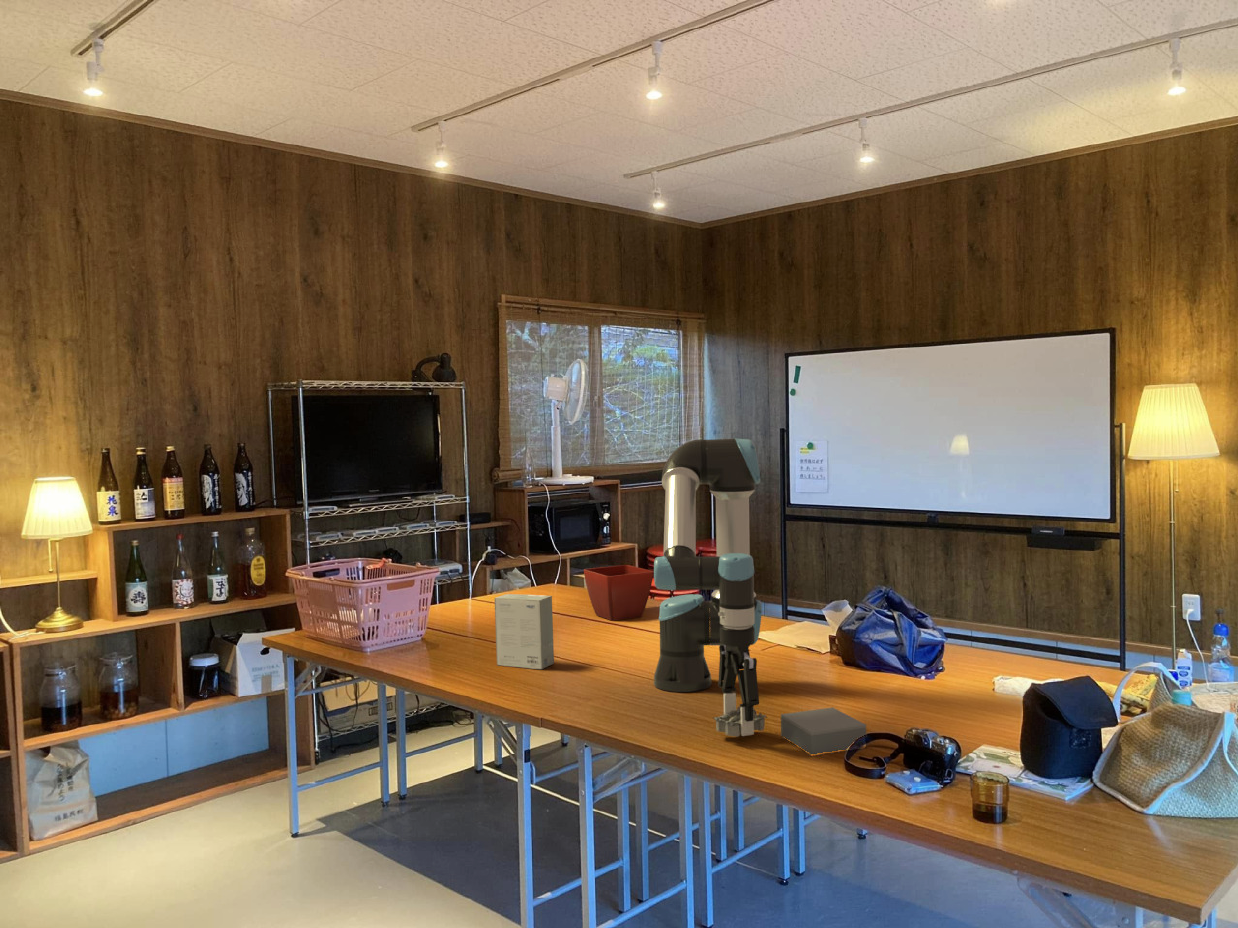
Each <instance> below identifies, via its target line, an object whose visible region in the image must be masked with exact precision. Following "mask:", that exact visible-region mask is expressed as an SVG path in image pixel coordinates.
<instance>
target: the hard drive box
mask: <svg viewBox="0 0 1238 928" xmlns="http://www.w3.org/2000/svg"><path fill="white" fill-rule="evenodd" d="M494 617H495V618H494V619H495V620H494V622H495V647H496V649H495V651H496V653H495V654H496V665H497V666H502V667H503V666H504V667H513V668H524V669H533V670H534V669H535V670H544V669H545V668H547V667H550V666H551V665H554V664H555V651H554V647H555V646H554V627H553V626H554V623H553V619H554V618H553V595H541V594H539V595H538V594H519V593H518V594H517V593H506V594H503V595H500V596H497V597H494Z"/></svg>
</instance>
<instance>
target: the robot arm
mask: <svg viewBox="0 0 1238 928" xmlns="http://www.w3.org/2000/svg"><path fill="white" fill-rule="evenodd" d="M758 460H759V459H758V454H757V447H756V445H755V442H754V441H753V440H752V439H747V438H736V437H735V438H721V439H720V438H717V439H711V438H710V439H692V440H689V441H687V442H685V443H683V444H681V445H680V446H679V447H677V448H676V449H675V450H674V451H673V452H672V453H671V454H670V455H669V457H668V459H666V462H665V463H664V466H663V469H662V474H661V485H662V488H663V490H664V491H665V497H664V501H665V502H664V522H663V523H664V526H663V527H664V529H663V530H664V532H663V554H662V556H657V557H655V559H654V562H653V580H654V581H653V582H654V586H655V588H656V589H658V590H664V591H687V590H690V591H691V590H693V591H694V590H699V591H701V590H702V591H704V590H705V591H706V590H707V591H709V590H710V591H712V593H711V595H710V596H711V600H704V599H705V598H704V597H703V595H702V594H699V593H698V594H696V593H695V594H691V593H690V594H682V595H675V596H672V597H669V598H666V599H664V600H663V601H661V602H660V605H659V616H658V621H659V650H660V651H659V659H658V662H657V664H656V668H655V672H654V674H653V685H654V687H655V688H656V689H659V690H662V691H666V692H674V693H675V692H676V693H677V692H678V693H690V692H699V691H702V690H706V689H708V688H710V687H711V686H712V675H711V672H710V669H709V665H708V662H707V660H706V657H705V646H719V647H718V649H719V651H718V652H719V664H718V665H719V666H718V682H717V683H718V684H717V685H718V687H719V688H720V689H721V693H723V696H722V697H723V714H728V713H730V712H731V711H736V710H737V693H736V692H737V691H738V690H737V688H736V687H735V686H736V683H737V682H738V686H739V691H740V698H741V702H742V703H740V704H739V707H740V710H741V733H740V736H742V737H746V736H752V735H755V730H754V711H753V708H754V706H758V705H760V697H759V685H758V674H757V663H758V660H757V658H756V657H751V655H750V648H749V647H750V646H753V645H755V644H756V643H757V641H759V635H760V631H761V624H762V609H763V604H762V600H759V599H757V594H756V592H755V577H754V574H755V567H754V557H753V556H752V555H750V554H751V553H750V552H751V551H750V545H751V544H750V496H751V495H752V494H753V493H754V492H755V491H756V489H755V487H756V486H755V485H758V484H760V483H761V475H760V465H759V461H758ZM700 485H709V492H710V493H711V494H712V495H713V496H714V497H715V533H716V534H715V535H716V537H715V538H716V556H697V555H696V554H697V553H696V552H697V551H696V548H697V547H696V542H697V541H696V540H697V539H696V538H697V537H696V533H697V532H696V529H697V528H696V520H697V519H696V518H697V517H696V514H697V513H696V512H697V511H696V509H697V508H696V496H697V495H696V493H697V490H698V488H699V487H700ZM737 680H738V681H737ZM736 681H737V682H736Z"/></svg>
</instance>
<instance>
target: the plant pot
mask: <svg viewBox="0 0 1238 928" xmlns="http://www.w3.org/2000/svg"><path fill="white" fill-rule="evenodd" d="M583 574H584V580H585V584H586V585H585V586H586V589H587V592H588V593H587V594H588V596H589V600H590V603H591V606H592V608H593V610H594V611H593V612H594V613H595V614H594V615H595V616H598V617H601V618H603V619H606V620H609V621H611V622H612V621H613V622H615V621H620V620H629V619H636V618H642V617H643V615H644V613H645V609H646V606H647V603H648V600H649V596H650V593H651V590H652V589H651V588H652V584H653V580H654V570H650V569H646V568H641V567H638V566H634V565H629V564H622V565H614V566H613V565H612V566H602V567H593V568H584V569H583Z"/></svg>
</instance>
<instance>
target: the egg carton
mask: <svg viewBox="0 0 1238 928" xmlns="http://www.w3.org/2000/svg"><path fill="white" fill-rule="evenodd" d="M753 711H754V731H760V732H762V731H764V730H765V722H766V721H765V718H768V716H767V715H766V714H762V712H759V713H758V714H757V712H756V709H755V708H754V707H753ZM712 718H713V720H714V721H715V730H716V731H717V732H719V733H720V732H721V733H725V735H726V736H730V737H740V736H741V710H740V706H738V707H736V711H731V712H730V713H728V714H724V713H723V714H721V715H720V716H715V717H712Z"/></svg>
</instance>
